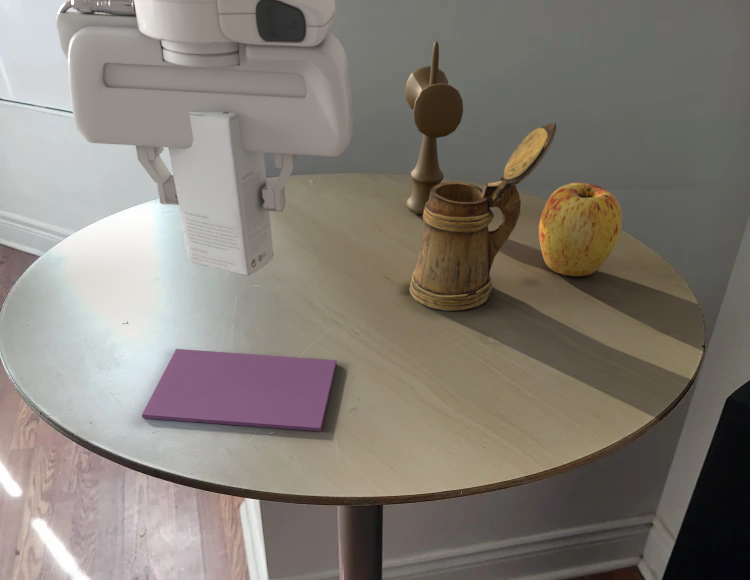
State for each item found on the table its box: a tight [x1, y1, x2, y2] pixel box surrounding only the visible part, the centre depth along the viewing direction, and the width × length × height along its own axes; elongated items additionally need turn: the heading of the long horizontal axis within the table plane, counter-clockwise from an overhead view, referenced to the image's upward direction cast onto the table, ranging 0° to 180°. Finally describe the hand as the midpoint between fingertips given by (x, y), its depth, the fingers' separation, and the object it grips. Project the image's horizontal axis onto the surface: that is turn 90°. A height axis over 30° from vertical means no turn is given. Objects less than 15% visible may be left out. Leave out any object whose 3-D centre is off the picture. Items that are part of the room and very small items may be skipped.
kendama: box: [404, 41, 464, 216], centre depth 97 cm, size 6×10×20 cm, turn 6°
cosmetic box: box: [167, 112, 274, 277], centre depth 60 cm, size 6×4×12 cm
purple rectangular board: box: [141, 348, 338, 432], centre depth 72 cm, size 16×11×1 cm
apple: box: [538, 182, 623, 277], centre depth 89 cm, size 9×9×10 cm
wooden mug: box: [409, 122, 557, 312], centre depth 81 cm, size 9×14×18 cm, turn 93°
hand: (224, 205), depth 61 cm, fingers closed on cosmetic box, 7 cm apart
